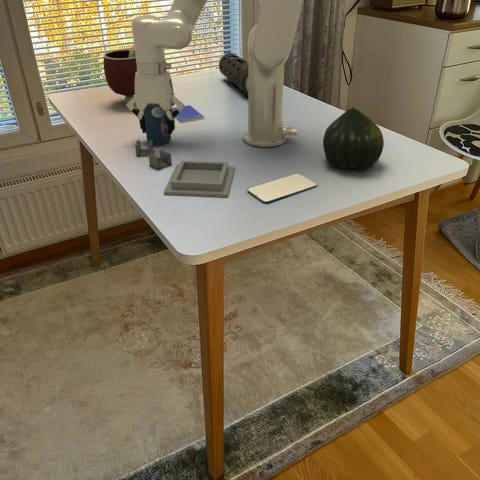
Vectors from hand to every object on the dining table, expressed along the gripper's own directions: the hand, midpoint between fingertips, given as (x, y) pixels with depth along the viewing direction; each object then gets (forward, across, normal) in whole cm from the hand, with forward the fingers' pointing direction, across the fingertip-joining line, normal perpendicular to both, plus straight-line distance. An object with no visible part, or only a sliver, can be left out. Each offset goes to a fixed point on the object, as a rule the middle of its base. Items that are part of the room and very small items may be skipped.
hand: (158, 131), depth 137 cm
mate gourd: (+4, +17, -31) cm, 36 cm away
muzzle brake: (+4, -19, -53) cm, 56 cm away
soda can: (+4, 0, 0) cm, 4 cm away
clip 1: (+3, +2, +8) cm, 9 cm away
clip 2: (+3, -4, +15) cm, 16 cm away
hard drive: (+4, -3, -23) cm, 24 cm away
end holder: (+3, -16, +23) cm, 28 cm away
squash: (+4, -53, +10) cm, 54 cm away
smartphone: (+4, -36, +25) cm, 44 cm away
